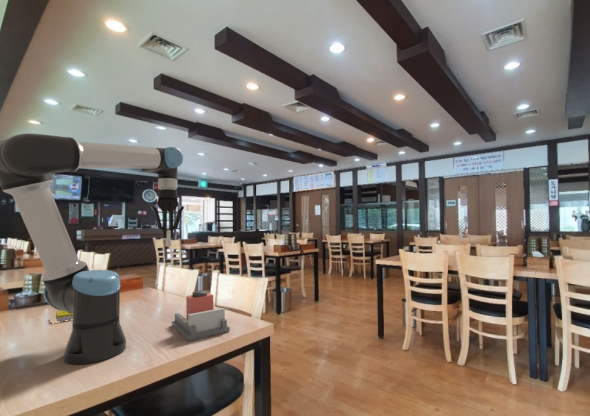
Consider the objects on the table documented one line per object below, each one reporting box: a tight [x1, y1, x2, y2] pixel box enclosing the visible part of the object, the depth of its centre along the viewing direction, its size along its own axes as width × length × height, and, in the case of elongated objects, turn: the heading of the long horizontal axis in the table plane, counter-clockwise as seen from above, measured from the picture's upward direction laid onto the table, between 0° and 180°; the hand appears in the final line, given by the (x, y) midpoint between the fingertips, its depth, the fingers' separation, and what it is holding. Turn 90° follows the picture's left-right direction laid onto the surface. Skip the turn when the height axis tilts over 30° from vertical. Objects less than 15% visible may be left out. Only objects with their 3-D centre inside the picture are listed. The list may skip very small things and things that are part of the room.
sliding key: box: [185, 290, 214, 319], centre depth 110 cm, size 8×5×11 cm, turn 126°
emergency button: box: [55, 310, 73, 321], centre depth 127 cm, size 9×4×15 cm
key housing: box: [171, 307, 231, 342], centre depth 110 cm, size 14×20×8 cm
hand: (168, 246), depth 128 cm, fingers closed
